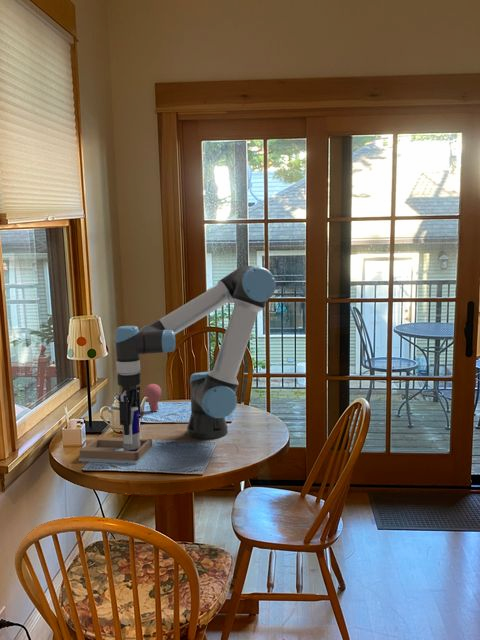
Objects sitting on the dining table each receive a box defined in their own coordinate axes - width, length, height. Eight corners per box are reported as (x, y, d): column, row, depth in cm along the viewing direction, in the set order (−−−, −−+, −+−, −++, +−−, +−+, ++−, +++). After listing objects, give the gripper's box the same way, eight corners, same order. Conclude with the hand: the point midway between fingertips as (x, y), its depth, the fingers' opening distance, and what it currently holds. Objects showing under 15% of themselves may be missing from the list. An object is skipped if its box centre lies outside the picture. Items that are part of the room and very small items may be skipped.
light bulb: (143, 413, 242) (141, 385, 240) (148, 408, 249) (147, 381, 247) (159, 414, 240) (158, 386, 239) (164, 409, 247) (163, 382, 246)
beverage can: (136, 454, 189) (134, 410, 188) (120, 453, 191) (118, 410, 189) (142, 449, 195) (141, 406, 193) (127, 448, 196) (125, 405, 194)
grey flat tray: (153, 447, 200) (152, 438, 199) (136, 464, 184) (135, 454, 184) (99, 444, 204) (99, 435, 203) (78, 461, 188) (78, 451, 188)
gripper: (128, 366, 199) (131, 431, 202) (106, 378, 181) (110, 449, 184) (149, 367, 198) (151, 432, 201) (128, 379, 180) (132, 450, 183)
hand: (131, 440), depth 192 cm, fingers closed on beverage can, 5 cm apart
